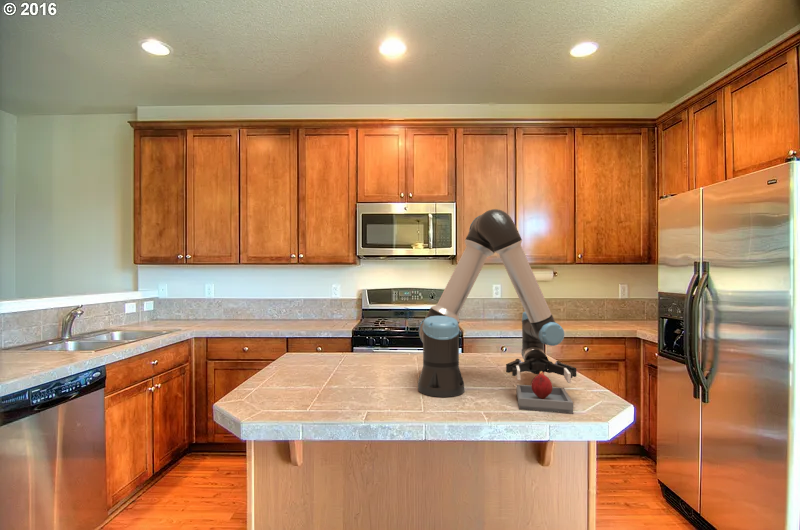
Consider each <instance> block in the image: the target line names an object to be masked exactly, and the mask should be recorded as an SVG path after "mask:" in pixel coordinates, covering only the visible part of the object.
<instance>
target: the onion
mask: <svg viewBox="0 0 800 530" xmlns="http://www.w3.org/2000/svg"><path fill="white" fill-rule="evenodd" d="M530 384H531V387H532V390H533V392H534V394H535V395H536V396H538V397H539V398H540V399H545V398H546V397H547V396H548V395H550V393H551V392H552V387H553V383H552V381H551V380H550V378H549V377H548V376H547V375H545V372H542V371H541V372H540V373H539V374H536V376H535V377H533V379H532V381H531V383H530Z"/></svg>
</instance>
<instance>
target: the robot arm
mask: <svg viewBox="0 0 800 530" xmlns="http://www.w3.org/2000/svg"><path fill="white" fill-rule="evenodd" d="M522 242H523V239H522V236H521V234H520V233H519V230H518V227H517V225H516V223H515V222H514V220H513V218H512V217H511V216H510V215H509V213H507V212H506V211H504V210H501V209H498V208H493V209H489V210H487V211H485V212H484V213H482V214H480V215H478V216H477V217H475V218H474V219H473V220H472V222H471V223H470V225H469V230H468V233H467V235H466V237H465V239H464V244H465V249H464V250H463V253H462V254H461V257H460V258H459V260H458V262H457V264H456V266H455V268H454V270H453V272H452V274H451V276H450V278H449V280H448V282H447V284H446V285H445V288H444V290H443V291H442V294H441V295H440V298H439V300H438V302H437V303H436V304H435V305H432V306H430V308H429V310H428V312H427V314H426V316H425V317H424V318H423V319H422V321H420V324H419V327H418V336H419V338H420V341H421V343H422V369H421V372H420V375H419V378H418V381H417V391H418V392H419V393H420V394H423V395H426V396H430V397H434V398H435V397H437V398H438V397H439V398H449V397H457V396H460V395H462V394H464V393H465V382H464V379H463V374H462V371H461V369H460V361H459V360H460V353H459V352H460V350H459V349H460V325H459V324H460V318H459V315H460V313H461V311H462V309H463V307H464V305H465V303H466V300H467V299H468V296H469V294H470V292H471V291H472V290H473V287H474V284H475V283H476V280H477V279H478V277H479V275H480V273H481V271H482V268H483V267H484V265H485V263H486V261H487V259H488V257H491V256H494V255H495V253H496V254H498V256H499V257H500V259H501V261H502V264H503V266H504V269H505V271H506V272H507V275H508V277H509V280H510V282H511V284H512V286H513V289H514V290H515V292H516V295H517V297H518V299H519V302H520V303H521V306H522V308H523V310H524V311H523V312H522V314H521V330H522V331H521V332H522V333H521V334H522V336H521V338H522V340H521V342H522V344H521V345H522V346H521V347H522V348H521V357H522V359H523V361H522V360H521V359H520V358H516V359H515V360H513V361H511V362H508V363H506V364H505V371H506V373H509V374H510V373H511V375H512V376H513V377H516V379H517V381H521V373H523V372H528V373H532V374H534V375H539V373H540V372H541V371H542V372H544V373H548V374H551V373H553V374H557V375H559V376H563V378H564V380H565V381H566V383H567V384H572V381H571V380H572V379H573V378H576V377H577V367H574V366H572V365H568V364H565V363H563V362H562V361H559V360H556V361H555V362H553V361H550V360H549V358H548V356H547V354H546V353H545V345H546V346H551V347H552V346H553V347H554V346H558V345H559V344H561V343H562V342H563V341H564V338H565V330H564V328H563V326H561V325H560V324H559V323H557V322H556V320H555V318H554V316H553V314H552V311H551V309H550V307H549V305H548V303H547V300H546V298H545V296H544V294H543V292H542V289H541V288H540V285H539V283H538V280H537V278H536V276H535V274H534V272H533V270H532V267H531V265H530V263H529V260H528V258H527V256H526V253H525V251H524V249H523V247H522Z"/></svg>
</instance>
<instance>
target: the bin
mask: <svg viewBox="0 0 800 530" xmlns="http://www.w3.org/2000/svg"><path fill="white" fill-rule="evenodd" d="M515 385H516V386H515V387H516V390H515V391H516V394H515V395H516V399H517V406H518V410H519V411H520V410H521V411H532V412H534V411H535V412H545V413H546V412H547V413H558V414H559V413H560V414H570V415H573V414H574V402H573V400H572V399H571V397H570V395H569V394H568V392H567V390H566V388H565V387H561V386H559V387H558V386H556V387H555V386H552V392H551V393H550V395H548V396H547V397H546V398H545V399H540V398H539V397H538V396H536V395H535V394H534V392H533V390H532V387H531V385H530V384H529V385H528V384H515Z"/></svg>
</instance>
